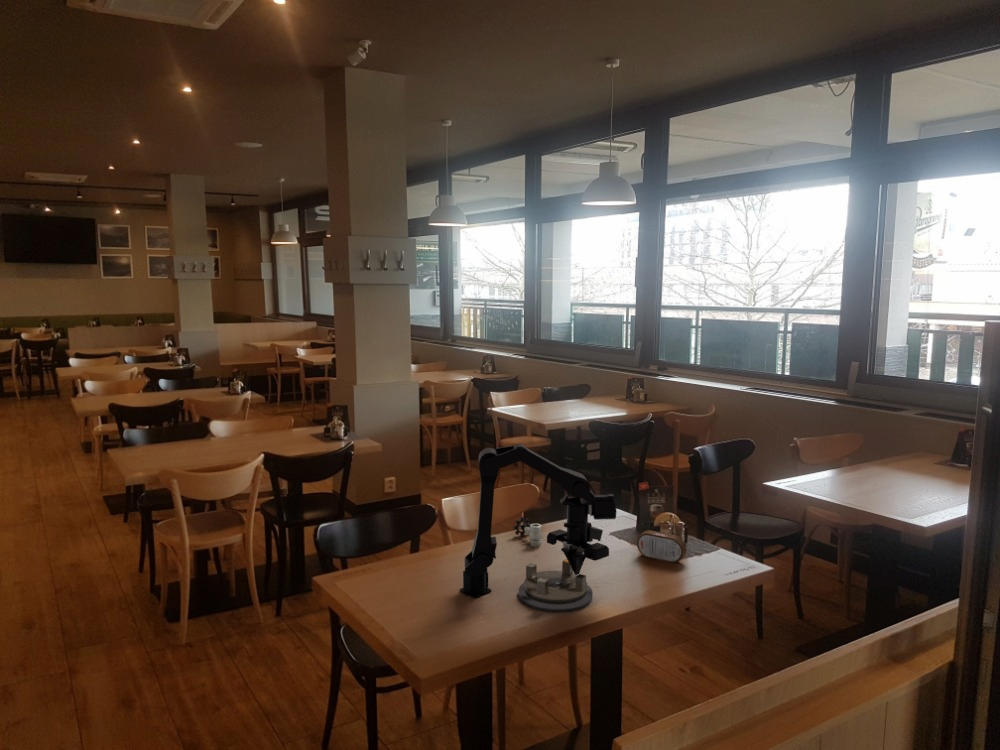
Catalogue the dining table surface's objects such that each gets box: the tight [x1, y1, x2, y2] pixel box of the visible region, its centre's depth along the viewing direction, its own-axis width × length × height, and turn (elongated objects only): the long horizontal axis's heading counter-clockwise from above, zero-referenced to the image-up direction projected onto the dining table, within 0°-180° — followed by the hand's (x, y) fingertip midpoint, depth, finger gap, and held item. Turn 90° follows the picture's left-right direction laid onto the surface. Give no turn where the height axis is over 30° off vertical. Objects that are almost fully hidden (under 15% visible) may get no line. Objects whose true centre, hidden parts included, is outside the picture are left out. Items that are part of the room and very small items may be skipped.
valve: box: [512, 516, 543, 547], centre depth 231 cm, size 7×7×12 cm
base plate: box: [518, 582, 594, 613], centre depth 189 cm, size 20×20×2 cm
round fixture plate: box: [523, 558, 588, 604], centre depth 188 cm, size 17×17×6 cm
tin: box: [636, 529, 687, 564], centre depth 214 cm, size 15×3×8 cm, turn 58°
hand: (576, 574), depth 192 cm, fingers closed
